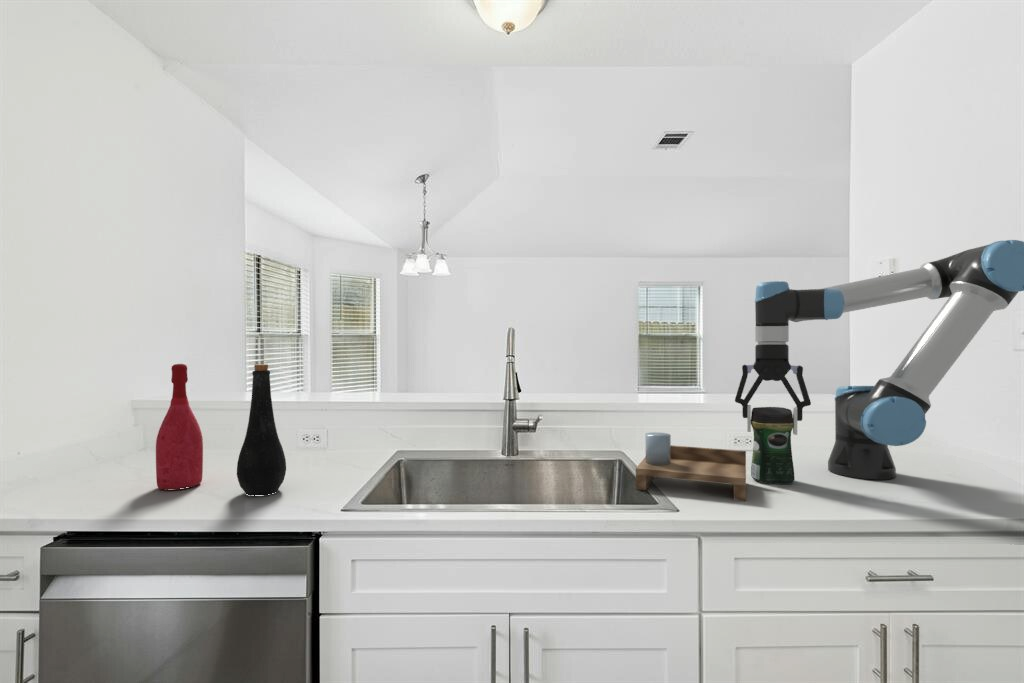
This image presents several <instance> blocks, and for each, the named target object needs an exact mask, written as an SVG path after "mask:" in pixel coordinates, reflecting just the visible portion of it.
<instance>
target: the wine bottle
mask: <svg viewBox="0 0 1024 683" xmlns="http://www.w3.org/2000/svg"><path fill="white" fill-rule="evenodd" d="M170 370H171V380H170V382H171V383H172V396H171V399H170V405H169V408H168V410H167V412H166V414H165V416H164V418H163V420H162V423H160V424H161V425H160V427H159V429H158V432H157V435H156V441H155V473H156V474H155V475H156V487H157V488H158V489H159V488H160V489H159V490H162V489H167V490H166V491H169V490H168V489H180V488H186V487H191V486H194V487H196V486H195V485H197V486H198V484H199V485H200V484H201V483H202V481H203V472H204V471H203V470H204V442H203V440H204V439H203V434H202V433H203V432H202V430H201V427H200V425H199V423H198V421H197V419H196V418H197V417H196V416H195V414H194V412H193V410H192V408H191V406H190V402H189V399H188V395H187V388H186V387H187V382H188V381H189V379H188V366H187V365H186V364H184V363H176V364H173V365H172V366H171V369H170ZM191 488H192V487H191Z"/></svg>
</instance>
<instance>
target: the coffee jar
mask: <svg viewBox="0 0 1024 683" xmlns="http://www.w3.org/2000/svg"><path fill="white" fill-rule="evenodd" d="M793 426H794V423H793V410H791V409H789V408H787V407H781V406H780V407H779V406H764V407H763V406H762V407H761V406H760V407H753V408H751V427H752V428H751V429H752V430H753V445H752V446H753V447H752V456H751V457H752V458H751V464H750V465H751V466H750V467H751V469H750V476H751V478H752V479H753V480H754V481H755V482H760V483H764V484H770V485H773V484H775V485H782V484H783V485H784V484H785V485H786V484H792V483H793V482H795V478H796V477H795V467H794V460H793V451H792V443H791V442H792V432H793Z"/></svg>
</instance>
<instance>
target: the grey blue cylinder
mask: <svg viewBox="0 0 1024 683" xmlns="http://www.w3.org/2000/svg"><path fill="white" fill-rule="evenodd" d="M671 440H672V439H671V434H670V433H667V432H656V431H655V432H646V433H645V457H646V463H647V464H651V465H669V464H671V442H672V441H671Z"/></svg>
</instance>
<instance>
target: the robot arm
mask: <svg viewBox="0 0 1024 683" xmlns="http://www.w3.org/2000/svg"><path fill="white" fill-rule="evenodd" d="M1019 292H1024V240H1018V239H1007V240H998V241H994V242H992V243H990V244H986V245H981V246H979V247H975V248H969V249H966V250H963V251H961V252H959V253H954V254H953V255H950V256H947V257H944V258H941V259H938V260H933V261H930V262H925V263H923V264H921V265H920V267H919V268H916V269H910V270H909V269H908V270H906V271H902V272H895V273H890V274H885V275H882V276H881V275H880V276H877V277H871V278H867V279H862V280H856V281H852V282H848V283H842V284H837V285H833V286H829V287H823V288H816V289H792V288H791V289H790V286H789V283H788V282H787V281H781V280H780V281H777V280H775V281H772V280H771V281H764V282H760V283H758V284H757V285H756V287H755V298H754V303H755V304H754V306H755V310H754V311H755V329H754V330H755V331H754V333H755V335H754V337H755V339H754V340H755V342H756V343H757V344H756V345H755V350H754V351H755V352H754V353H755V354H754V355H755V356H754V357H755V361H754V363H753V364H743V365H742V366H741V368H742V375H741V378H740V381H739V384H738V388H737V392H736V395H735V397H734V402H735V403H736V404H740V405H741V406H742V418H743V419H747V421H746V422H747V426H746V427H747V429H746V430H747V432H748V433H751V429H752V428H751V427H752V425H751V415H752V414H751V413H752V408H751V407H752V405H751V404H749V403H750V401H751V399H752V398H753V397H754V395H755V393H756V392H757V390H758V388H759V387H760V385H761V383H762V382H763V381H768V382H769V381H774V382H780V381H781V382H782V384H783V386H784V387H785V389H786V391H787V393H788V394H789V396H790V397H791V399H792V401H793V402H794V404H795V405H796V406H793V407H792V415H793V423H794V426H793V429H792V434H793V435H794V436H798V422H802V421H803V408H805V407H809V406H811V404H812V402H811V399H810V396H809V391H808V389H807V386H806V383H805V382H806V381H805V380H804V376H803V373H804V372H803V370H804V367H803V366H802V365H792V364H791V363H790V361H789V360H790V359H789V357H790V356H789V354H790V352H789V349H790V348H789V344H787V343H788V342H789V334H790V333H789V330H790V328H789V324H790V322H794V323H800V322H804V321H806V322H807V321H815V320H817V321H818V320H822V321H823V320H825V321H828V320H839V319H840V318H841V317H842V315H843V314H844V313H849V312H854V311H860V310H865V309H871V308H875V307H881V306H887V305H890V304H892V305H893V304H897V303H902V302H907V301H912V300H918V299H922V298H927V299H929V300H939V299H943V298H948V299H947V300H946V302H944V304H943V305H942V307H941V308H940V309H939V311H938V312H937V314H935V316H934V317H933V319H932V320H931V322H930V323H929V325H927V327H926V328H925V330H924V331H923V333H921V334H920V336H919V337H918V339H917V340H916V342H915V343H914V344H913V345H912V347H911V348H910V350H909V351H908V352H907V354H906V355H905V356H904V358H903V359H902V361H901V362H900V363H899V364H898V366H897V367H896V369H894V371H893V373H892V374H891V375H890V376H888V377H883V378H879V379H878V380H877V382H876V383H875V384H874V385H844V386H839V387H837V388H836V390H835V397H834V410H835V412H834V413H835V416H834V418H835V419H834V421H835V423H834V424H835V425H834V426H835V427H834V428H835V437H834V438H835V441H834V444H833V447H832V450H831V453H830V456H829V457H828V460H827V470H828V472H831V473H834V474H837V475H840V476H845V477H850V478H855V479H865V480H875V481H876V480H881V481H882V480H884V481H885V480H891V479H895V478H896V477H897V476H896V475H897V470H896V469H897V468H896V465H895V463H894V460H893V457H892V455H891V451H890V449H889V446H891V447H901V446H906V445H909V444H911V443H913V442H916V440H918V439H919V438H920V437H921V436H922V434H923V433H924V431H925V429H926V426H927V420H926V414H927V412H929V410H930V409H931V407H932V403H931V400H930V395H931V394H932V393H933V391H934V390H935V389H936V388H937V386H938V385H939V383H940V382H941V381H942V380H943V379H944V377H945V376H946V374H947V373H948V372H949V370H950V369H951V368H952V366H953V365H955V362H956V361H957V360H958V359H959V357H960V356H961V355H962V353H963V352H964V351H965V349H966V348H967V347H968V346H969V344H970V343H971V342H972V341H973V339H974V338H975V336H976V335H977V334H978V332H979V331H980V330H981V328H982V327H983V326H984V325H985V323H986V322H987V320H988V319H989V318H990V316H991V315H992V314H993V313H994V312H996V311H999V310H1005V309H1006V308H1007V307H1008V306H1009V305H1010V304H1011V302H1012V301H1013V300H1014V298H1015V297H1016V296H1017V295H1018V293H1019ZM789 321H790V322H789ZM752 370H754V371H755V372H756V374H757V375H758V376H757V378H756V379H755V381H754V382H753V384H752V386H751V387H750V389H749V390H748V392H747V394H746V396H745V397H744V399H743V398H742V396H743V393H744V389H745V386H746V382H747V379H748V376H749V375H748V374H751V373H752ZM791 370H792V373H793V374H794V375H795V376H796V380H797V382H798V386H799V387H798V388H799V389H800V392H801V396H802V399H803V400H802V401H801V400H800V399H799V397H798V395H797V393H796V392H795V390H794V389H793V387H792V385H791V384H790V383H789V382H790V381H788V378H786V376H787V374H788V373H789V372H790V371H791Z"/></svg>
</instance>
